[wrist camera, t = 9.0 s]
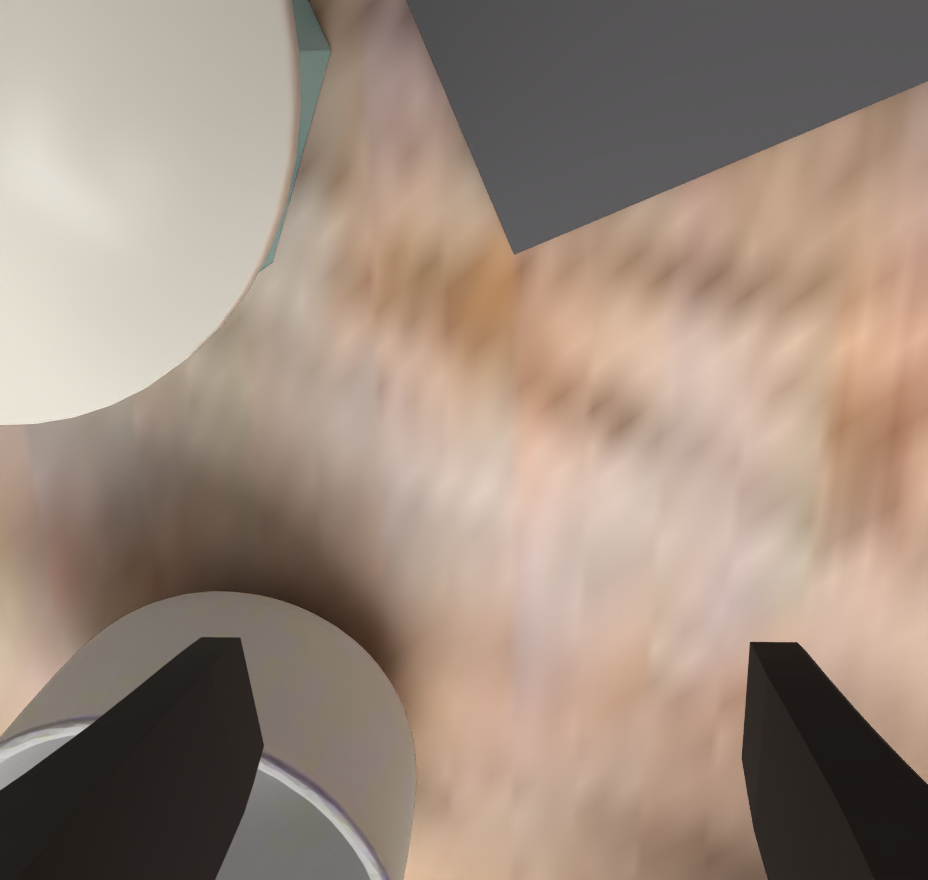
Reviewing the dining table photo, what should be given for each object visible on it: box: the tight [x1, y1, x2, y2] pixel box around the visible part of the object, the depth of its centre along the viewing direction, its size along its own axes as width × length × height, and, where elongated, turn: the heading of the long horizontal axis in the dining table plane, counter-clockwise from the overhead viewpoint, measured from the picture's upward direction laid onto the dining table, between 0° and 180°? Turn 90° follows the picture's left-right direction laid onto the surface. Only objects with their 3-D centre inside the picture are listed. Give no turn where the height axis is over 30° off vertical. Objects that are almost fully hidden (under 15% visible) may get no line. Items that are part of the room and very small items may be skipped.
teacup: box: [0, 591, 416, 880], centre depth 23 cm, size 14×11×8 cm
